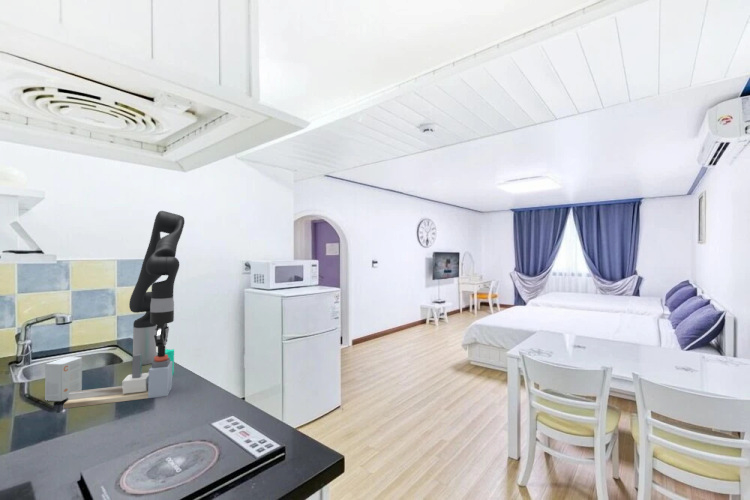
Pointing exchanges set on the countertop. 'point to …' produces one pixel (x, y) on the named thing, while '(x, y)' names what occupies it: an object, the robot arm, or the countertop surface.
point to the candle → (171, 356)
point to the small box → (62, 378)
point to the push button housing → (160, 379)
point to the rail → (101, 396)
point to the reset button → (160, 358)
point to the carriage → (136, 377)
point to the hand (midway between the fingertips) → (161, 356)
